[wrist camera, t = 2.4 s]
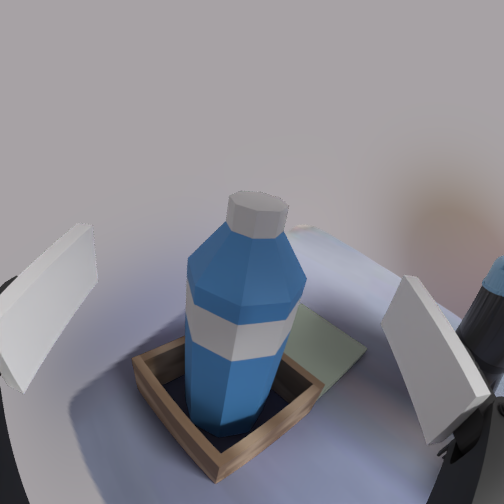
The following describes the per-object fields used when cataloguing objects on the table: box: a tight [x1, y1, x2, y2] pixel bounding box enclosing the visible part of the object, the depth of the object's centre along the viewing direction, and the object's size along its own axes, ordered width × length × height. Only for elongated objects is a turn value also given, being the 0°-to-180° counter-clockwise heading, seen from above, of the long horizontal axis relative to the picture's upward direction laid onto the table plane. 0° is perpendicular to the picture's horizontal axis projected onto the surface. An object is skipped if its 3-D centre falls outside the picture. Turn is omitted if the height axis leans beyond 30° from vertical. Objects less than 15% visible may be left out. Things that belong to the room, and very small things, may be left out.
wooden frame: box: [132, 336, 325, 484], centre depth 31 cm, size 15×15×6 cm
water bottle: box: [185, 191, 307, 438], centre depth 26 cm, size 9×9×25 cm
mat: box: [284, 304, 367, 401], centre depth 43 cm, size 14×14×1 cm
